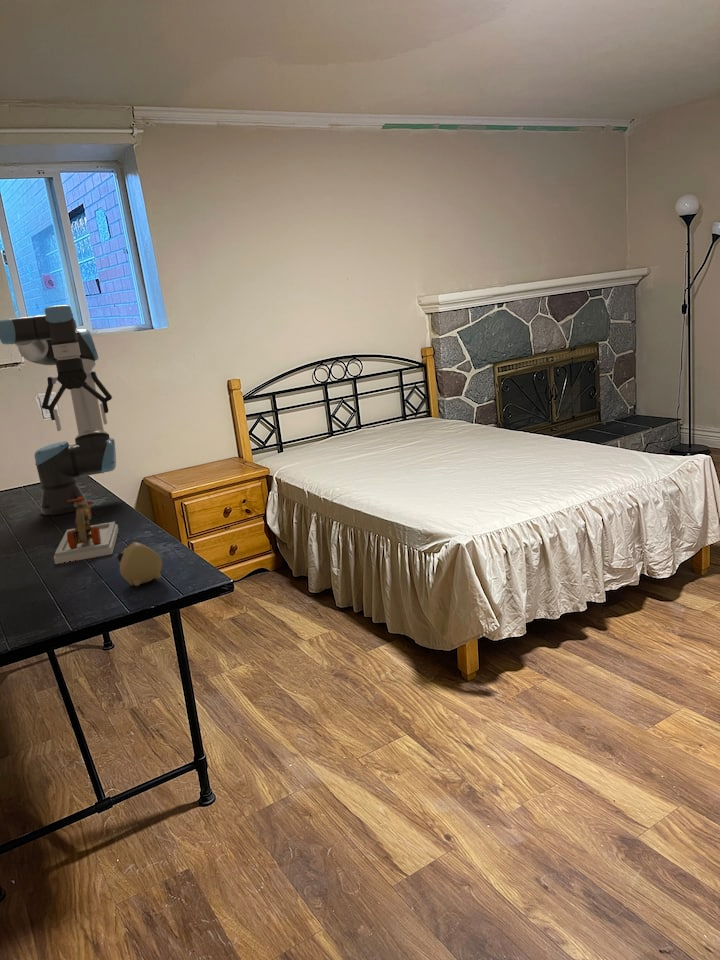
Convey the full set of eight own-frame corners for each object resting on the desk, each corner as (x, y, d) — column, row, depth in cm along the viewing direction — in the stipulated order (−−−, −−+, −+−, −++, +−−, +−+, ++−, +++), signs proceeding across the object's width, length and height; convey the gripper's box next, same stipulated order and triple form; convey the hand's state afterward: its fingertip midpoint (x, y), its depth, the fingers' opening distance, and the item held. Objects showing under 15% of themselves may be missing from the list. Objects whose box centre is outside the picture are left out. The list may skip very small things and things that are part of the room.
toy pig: (154, 570, 178) (147, 530, 175) (171, 583, 168) (163, 541, 165) (116, 582, 172) (107, 541, 170) (130, 596, 163) (121, 553, 160)
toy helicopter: (69, 552, 193) (58, 504, 190) (76, 531, 212) (66, 487, 209) (100, 546, 195) (90, 499, 192) (104, 526, 215) (95, 483, 211)
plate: (67, 539, 213) (65, 529, 212) (118, 530, 216) (116, 521, 215) (55, 564, 191) (52, 554, 190) (112, 553, 194) (110, 543, 193)
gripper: (21, 364, 205) (37, 435, 210) (110, 353, 210) (123, 422, 216) (26, 362, 212) (42, 431, 217) (112, 352, 218) (125, 419, 223)
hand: (82, 427), depth 217 cm, fingers open, 13 cm apart
